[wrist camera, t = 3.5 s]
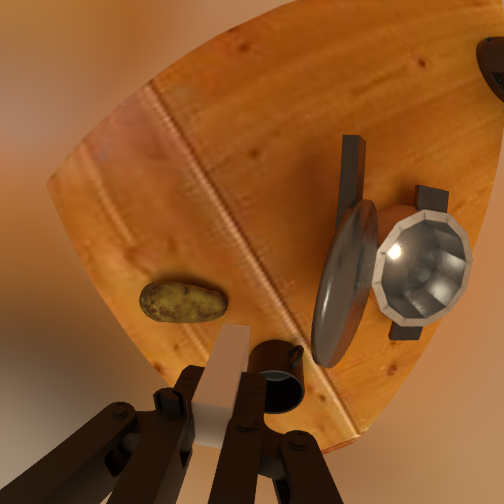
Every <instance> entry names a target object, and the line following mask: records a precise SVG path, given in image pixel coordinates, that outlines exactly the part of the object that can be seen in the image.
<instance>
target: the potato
mask: <svg viewBox="0 0 504 504" xmlns="http://www.w3.org/2000/svg"><path fill="white" fill-rule="evenodd" d="M139 302H140V307H141V309H142V310H143V312H144V313H145V314H146V316H148V317H150V318H151V319H153V320H155V321H158V322H170V323H200V322H207V321H211V320H215V319H217V318H219V317H221V316H223V315H224V313H225V311H226V310H227V306H228V301H227V300H226V298H225V297H224V296H223V295H222V294H221V293H219V292H218V291H215V290H208V289H205V288H204V287H202V286H197V285H190V284H185V283H180V282H166V281H157V282H153V283H150V284H148V285H146V286H145V287H144V288H143V290H142V292H141V295H140V299H139Z"/></svg>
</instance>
